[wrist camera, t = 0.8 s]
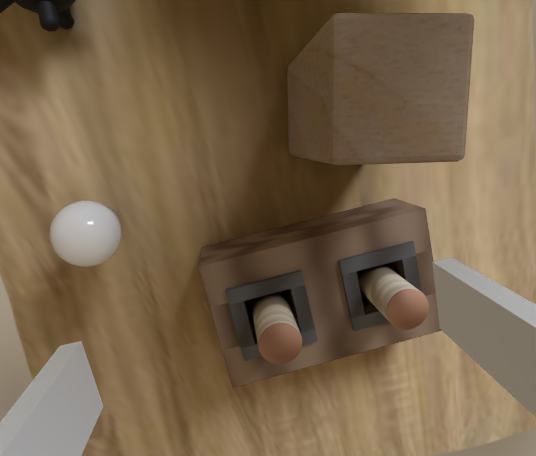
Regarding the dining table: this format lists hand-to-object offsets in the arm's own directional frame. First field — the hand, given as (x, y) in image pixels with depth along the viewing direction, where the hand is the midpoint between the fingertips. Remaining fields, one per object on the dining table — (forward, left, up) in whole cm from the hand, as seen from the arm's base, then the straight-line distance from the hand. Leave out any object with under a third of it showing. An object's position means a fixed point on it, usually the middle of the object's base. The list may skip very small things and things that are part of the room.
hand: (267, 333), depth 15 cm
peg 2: (+3, +17, -29) cm, 33 cm away
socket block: (+6, +11, -35) cm, 37 cm away
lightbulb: (+6, -14, -35) cm, 38 cm away
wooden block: (-13, +7, -35) cm, 38 cm away
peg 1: (+9, +6, -29) cm, 31 cm away
